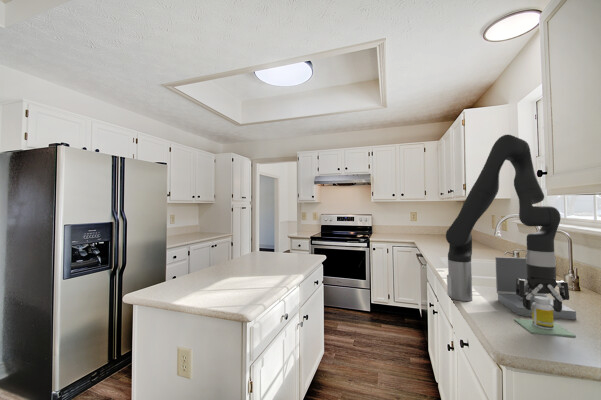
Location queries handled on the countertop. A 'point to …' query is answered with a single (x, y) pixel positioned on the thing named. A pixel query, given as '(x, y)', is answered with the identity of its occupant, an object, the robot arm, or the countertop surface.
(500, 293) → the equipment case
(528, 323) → the mat
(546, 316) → the supplement bottle
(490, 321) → the countertop surface
